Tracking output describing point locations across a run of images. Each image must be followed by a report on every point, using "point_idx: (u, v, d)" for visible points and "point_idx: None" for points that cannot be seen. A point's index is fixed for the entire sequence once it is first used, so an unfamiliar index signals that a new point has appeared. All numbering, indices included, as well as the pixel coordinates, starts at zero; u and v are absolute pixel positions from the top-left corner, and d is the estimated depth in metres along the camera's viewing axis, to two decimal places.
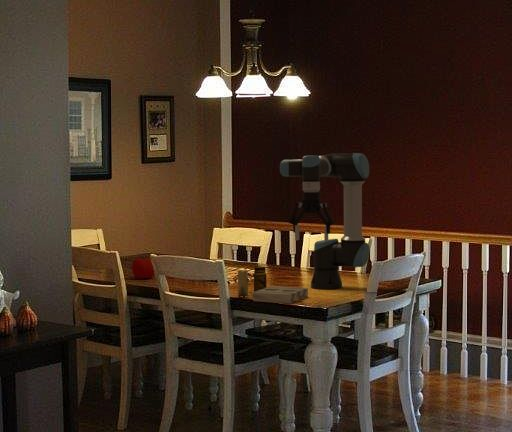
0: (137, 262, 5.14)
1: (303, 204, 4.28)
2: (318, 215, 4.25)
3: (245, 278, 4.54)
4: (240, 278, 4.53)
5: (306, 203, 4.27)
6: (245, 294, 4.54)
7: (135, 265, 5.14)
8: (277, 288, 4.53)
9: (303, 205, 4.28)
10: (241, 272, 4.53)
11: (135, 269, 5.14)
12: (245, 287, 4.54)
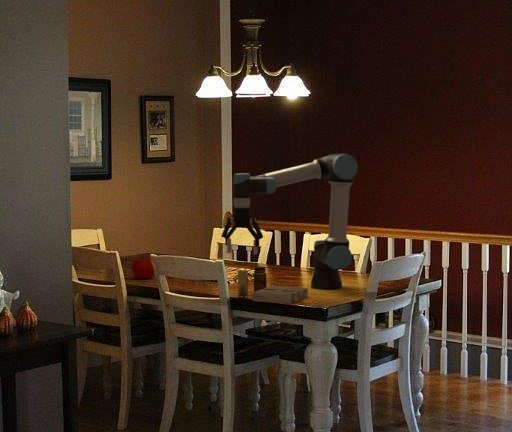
0: (137, 262, 5.14)
1: (234, 219, 4.54)
2: (248, 229, 4.51)
3: (245, 278, 4.54)
4: (240, 278, 4.53)
5: (237, 218, 4.53)
6: (245, 294, 4.54)
7: (135, 265, 5.14)
8: (277, 288, 4.53)
9: (234, 220, 4.54)
10: (241, 272, 4.53)
11: (135, 269, 5.14)
12: (245, 287, 4.54)
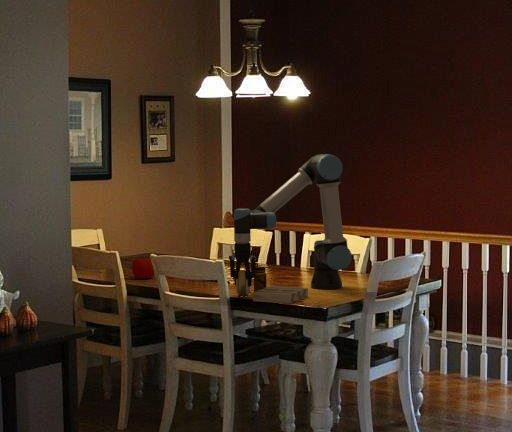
0: (137, 262, 5.14)
1: (235, 254, 4.55)
2: None
3: (245, 278, 4.54)
4: (240, 278, 4.53)
5: (237, 252, 4.54)
6: (245, 294, 4.54)
7: (135, 265, 5.14)
8: (277, 288, 4.53)
9: (235, 255, 4.55)
10: (241, 272, 4.53)
11: (135, 269, 5.14)
12: (245, 287, 4.54)
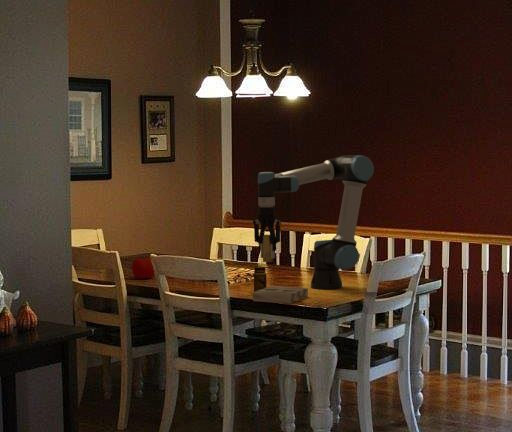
0: (137, 262, 5.14)
1: (259, 219, 4.48)
2: (269, 230, 4.46)
3: (269, 242, 4.47)
4: (264, 242, 4.47)
5: (261, 216, 4.48)
6: (270, 259, 4.47)
7: (135, 265, 5.14)
8: (277, 288, 4.53)
9: (259, 219, 4.48)
10: (265, 236, 4.46)
11: (135, 269, 5.14)
12: (269, 252, 4.47)
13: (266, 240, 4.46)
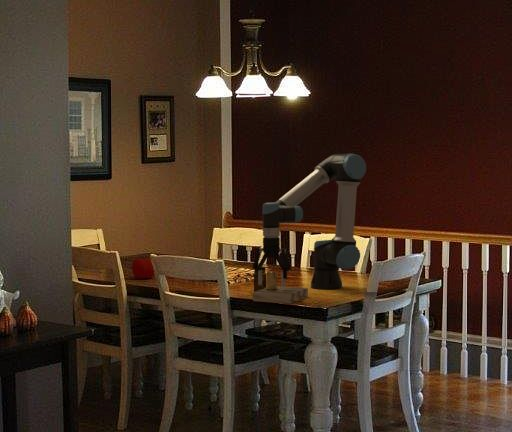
0: (137, 262, 5.14)
1: (263, 249, 4.48)
2: None
3: (274, 280, 4.47)
4: (269, 280, 4.47)
5: (266, 248, 4.48)
6: None
7: (135, 265, 5.14)
8: (277, 288, 4.53)
9: (263, 250, 4.48)
10: (270, 274, 4.46)
11: (135, 269, 5.14)
12: (274, 289, 4.47)
13: (271, 277, 4.47)
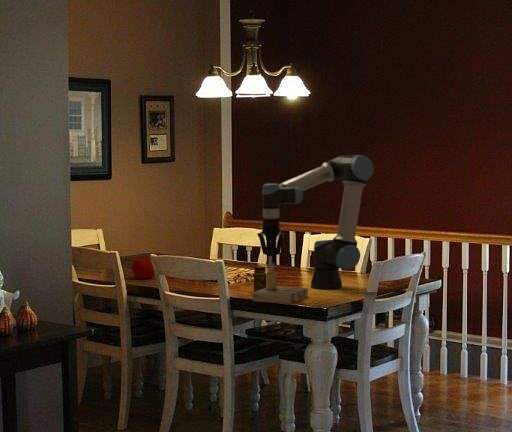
0: (137, 262, 5.14)
1: (263, 230, 4.48)
2: (271, 242, 4.46)
3: (274, 280, 4.47)
4: (269, 280, 4.47)
5: (264, 227, 4.47)
6: None
7: (135, 265, 5.14)
8: (277, 288, 4.53)
9: (263, 231, 4.48)
10: (270, 273, 4.47)
11: (135, 269, 5.14)
12: (274, 289, 4.47)
13: (271, 277, 4.47)
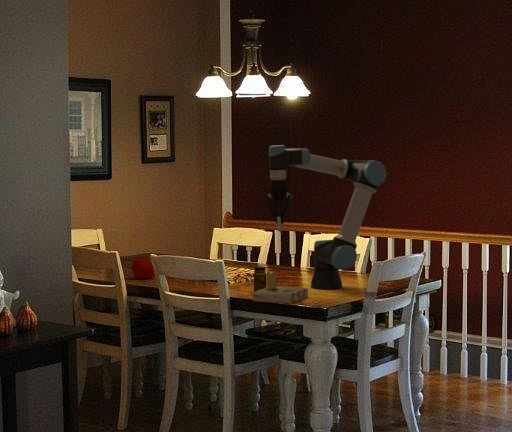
0: (137, 262, 5.14)
1: (271, 192, 4.53)
2: None
3: (274, 280, 4.47)
4: (269, 280, 4.47)
5: (272, 189, 4.52)
6: None
7: (135, 265, 5.14)
8: (277, 288, 4.53)
9: (271, 192, 4.53)
10: (270, 274, 4.47)
11: (135, 269, 5.14)
12: (274, 289, 4.47)
13: (271, 277, 4.47)
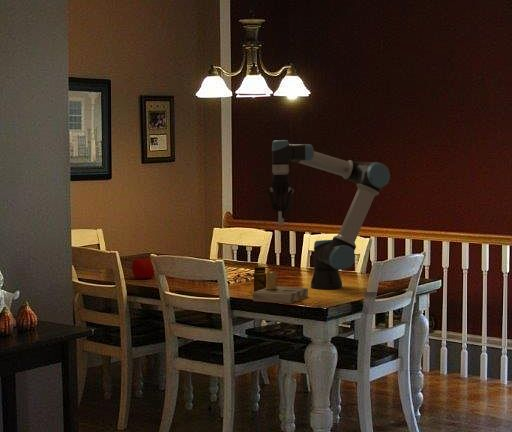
0: (137, 262, 5.14)
1: (273, 186, 4.55)
2: (281, 197, 4.54)
3: (274, 280, 4.47)
4: (269, 280, 4.47)
5: (274, 183, 4.54)
6: None
7: (135, 265, 5.14)
8: (277, 288, 4.53)
9: (273, 187, 4.55)
10: (270, 273, 4.47)
11: (135, 269, 5.14)
12: (274, 289, 4.47)
13: (271, 277, 4.47)
